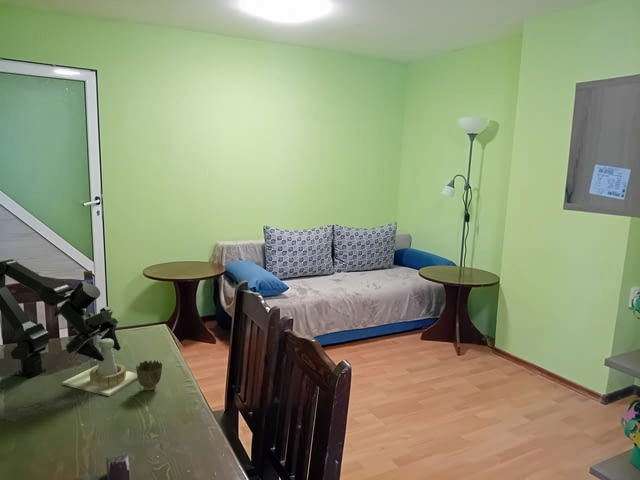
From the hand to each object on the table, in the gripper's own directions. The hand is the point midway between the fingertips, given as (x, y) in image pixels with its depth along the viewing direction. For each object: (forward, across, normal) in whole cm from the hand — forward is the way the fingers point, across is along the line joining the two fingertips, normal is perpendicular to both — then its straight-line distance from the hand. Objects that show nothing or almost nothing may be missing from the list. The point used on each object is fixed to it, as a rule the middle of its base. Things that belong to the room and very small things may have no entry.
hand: (111, 354), depth 143 cm
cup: (+16, -2, -3) cm, 16 cm away
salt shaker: (+5, 0, +7) cm, 9 cm away
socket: (+4, 0, +9) cm, 10 cm away
